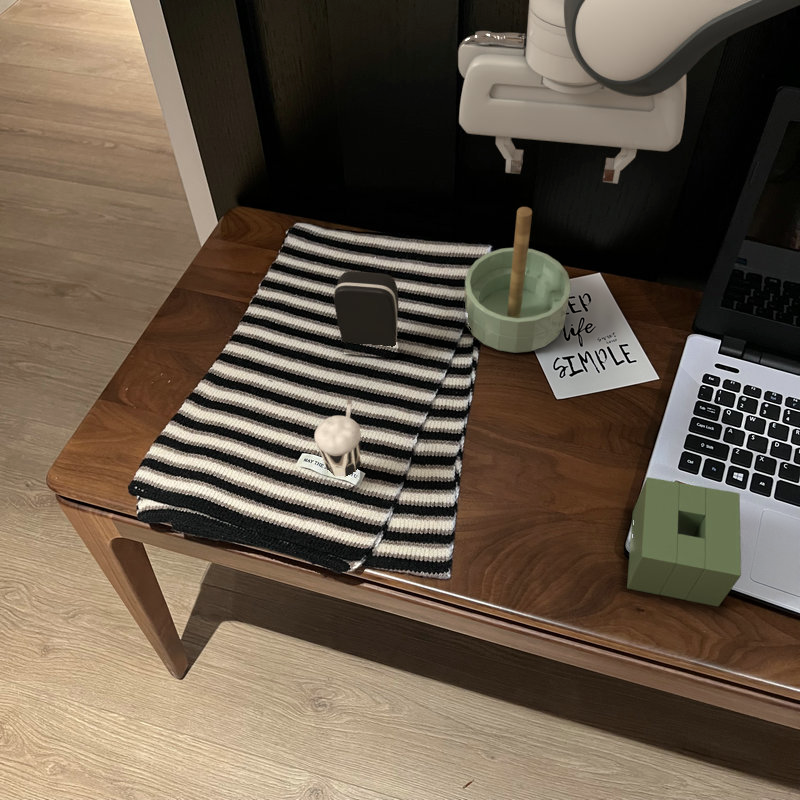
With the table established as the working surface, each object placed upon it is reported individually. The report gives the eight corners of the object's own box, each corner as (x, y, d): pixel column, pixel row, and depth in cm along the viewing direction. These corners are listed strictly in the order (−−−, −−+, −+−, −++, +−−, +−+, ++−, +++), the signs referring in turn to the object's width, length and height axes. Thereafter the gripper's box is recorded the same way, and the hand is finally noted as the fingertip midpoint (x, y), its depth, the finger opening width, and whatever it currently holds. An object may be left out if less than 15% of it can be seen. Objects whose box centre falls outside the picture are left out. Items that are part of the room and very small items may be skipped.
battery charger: (403, 337, 95) (399, 268, 86) (398, 361, 93) (393, 293, 83) (347, 332, 96) (337, 263, 87) (341, 356, 93) (330, 288, 84)
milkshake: (377, 461, 84) (370, 407, 76) (355, 501, 81) (345, 449, 73) (340, 448, 85) (329, 392, 78) (317, 486, 83) (303, 433, 75)
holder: (718, 528, 78) (739, 493, 72) (718, 606, 73) (741, 575, 67) (632, 512, 79) (646, 476, 74) (626, 588, 74) (641, 556, 69)
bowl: (569, 290, 98) (575, 254, 94) (557, 362, 91) (564, 328, 87) (474, 277, 100) (475, 241, 96) (455, 347, 93) (456, 313, 89)
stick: (521, 310, 96) (533, 207, 83) (519, 320, 95) (531, 217, 82) (508, 309, 96) (518, 205, 83) (506, 318, 95) (516, 215, 82)
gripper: (451, 48, 66) (451, 183, 77) (702, 66, 62) (665, 205, 73) (464, 12, 69) (463, 146, 80) (703, 26, 66) (668, 165, 77)
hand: (561, 174), depth 77 cm, fingers open, 8 cm apart
